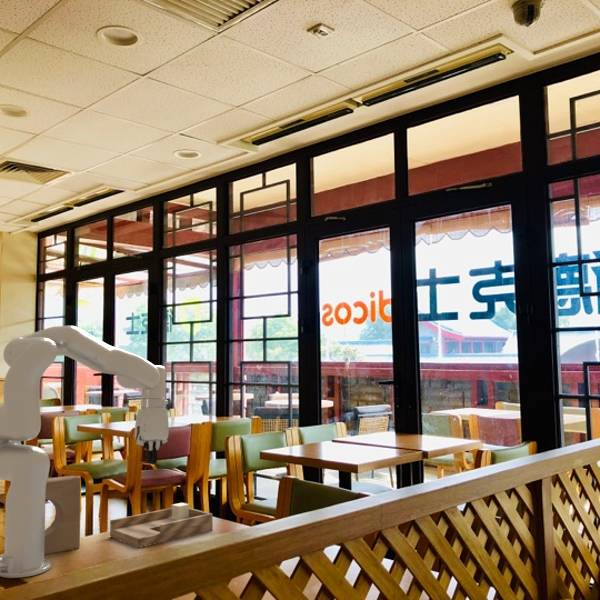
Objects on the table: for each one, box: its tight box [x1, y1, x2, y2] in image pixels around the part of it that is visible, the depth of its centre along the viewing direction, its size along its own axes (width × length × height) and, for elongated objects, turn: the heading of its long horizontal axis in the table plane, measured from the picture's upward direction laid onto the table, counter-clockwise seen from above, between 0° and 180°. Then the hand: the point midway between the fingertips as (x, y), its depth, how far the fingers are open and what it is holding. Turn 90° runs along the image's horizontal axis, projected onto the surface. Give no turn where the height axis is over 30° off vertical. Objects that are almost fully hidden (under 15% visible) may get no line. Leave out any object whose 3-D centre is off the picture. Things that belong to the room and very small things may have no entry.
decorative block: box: [44, 474, 82, 556], centre depth 186 cm, size 11×6×20 cm, turn 128°
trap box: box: [109, 507, 214, 548], centre depth 201 cm, size 26×17×5 cm, turn 135°
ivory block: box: [171, 502, 190, 519], centre depth 212 cm, size 4×4×4 cm
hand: (151, 462), depth 205 cm, fingers closed
